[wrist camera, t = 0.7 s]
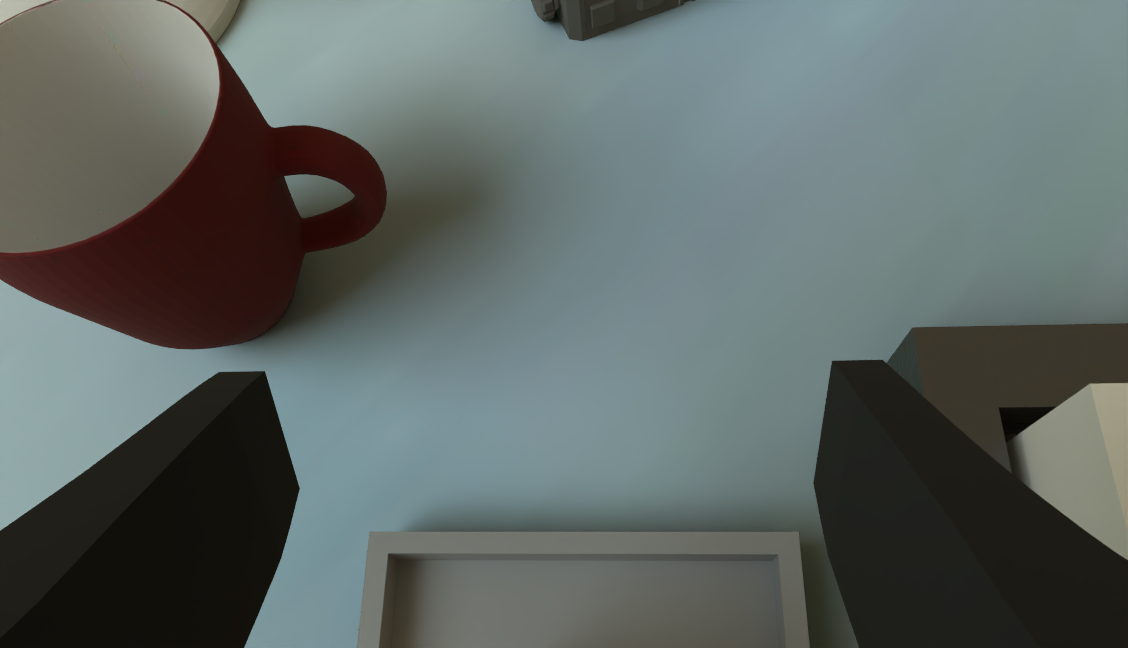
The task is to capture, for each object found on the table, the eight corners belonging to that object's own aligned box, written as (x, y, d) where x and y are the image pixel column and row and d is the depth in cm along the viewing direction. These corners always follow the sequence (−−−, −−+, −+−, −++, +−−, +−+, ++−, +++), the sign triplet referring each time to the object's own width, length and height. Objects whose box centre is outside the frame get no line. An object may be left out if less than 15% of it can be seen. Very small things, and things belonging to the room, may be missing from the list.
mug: (394, 151, 32) (295, -72, 23) (443, 337, 28) (350, 165, 19) (119, 232, 31) (-95, 39, 22) (136, 432, 28) (-108, 301, 19)
